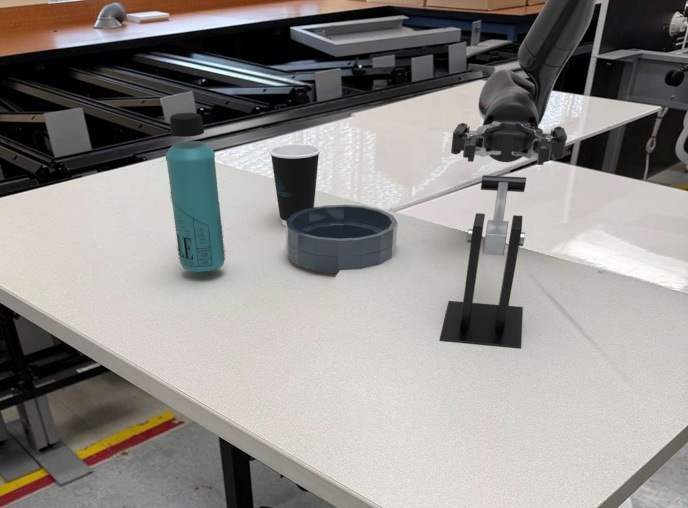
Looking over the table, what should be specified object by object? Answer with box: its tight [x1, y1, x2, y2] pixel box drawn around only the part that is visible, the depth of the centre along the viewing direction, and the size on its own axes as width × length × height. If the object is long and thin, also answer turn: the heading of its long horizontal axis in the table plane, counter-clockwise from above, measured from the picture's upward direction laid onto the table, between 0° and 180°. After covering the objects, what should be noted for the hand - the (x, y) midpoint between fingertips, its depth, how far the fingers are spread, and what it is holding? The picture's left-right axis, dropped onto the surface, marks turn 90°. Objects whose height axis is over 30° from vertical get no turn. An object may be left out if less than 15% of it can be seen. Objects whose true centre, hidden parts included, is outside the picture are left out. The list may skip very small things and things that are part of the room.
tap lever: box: [480, 174, 527, 256], centre depth 81 cm, size 13×5×2 cm, turn 166°
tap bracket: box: [439, 212, 526, 349], centre depth 81 cm, size 11×9×13 cm
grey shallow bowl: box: [285, 204, 398, 274], centre depth 103 cm, size 16×16×5 cm
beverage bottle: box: [165, 112, 226, 273], centre depth 94 cm, size 6×7×20 cm
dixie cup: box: [268, 143, 322, 228], centre depth 113 cm, size 8×8×11 cm
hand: (506, 154), depth 88 cm, fingers open, 8 cm apart
